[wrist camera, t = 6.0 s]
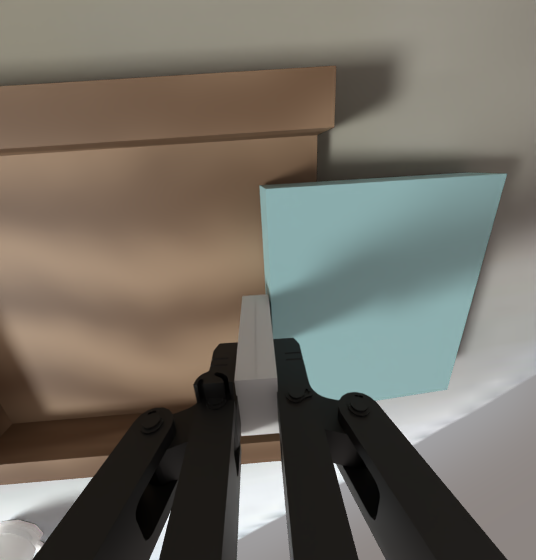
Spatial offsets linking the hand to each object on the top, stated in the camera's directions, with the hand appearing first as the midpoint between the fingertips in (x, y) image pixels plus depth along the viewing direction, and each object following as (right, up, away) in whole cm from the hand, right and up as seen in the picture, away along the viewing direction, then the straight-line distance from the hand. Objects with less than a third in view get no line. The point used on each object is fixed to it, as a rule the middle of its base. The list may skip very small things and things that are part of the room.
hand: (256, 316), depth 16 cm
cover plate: (+6, +1, +2) cm, 7 cm away
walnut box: (-9, +1, +2) cm, 9 cm away
